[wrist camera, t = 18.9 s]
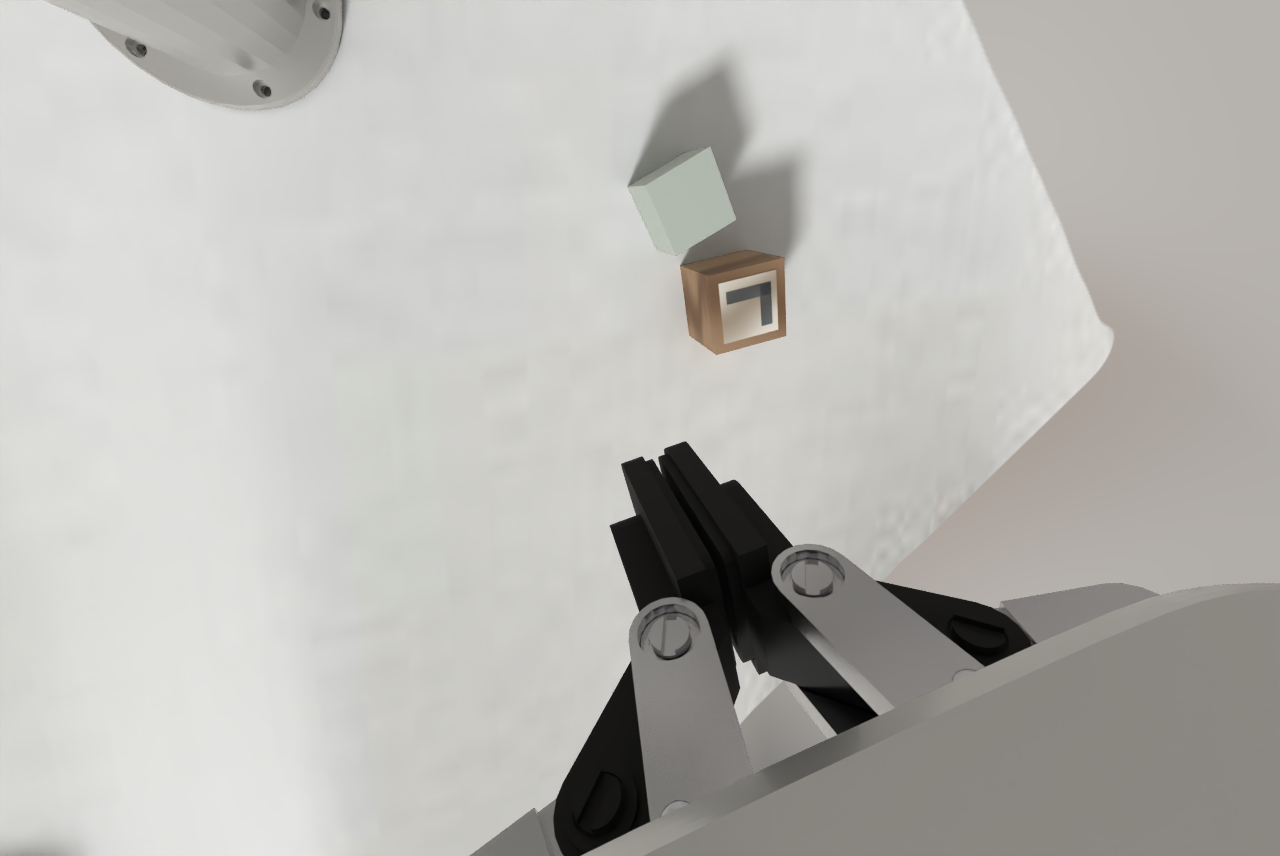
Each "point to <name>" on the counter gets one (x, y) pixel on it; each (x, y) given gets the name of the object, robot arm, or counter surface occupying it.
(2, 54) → the counter surface
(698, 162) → the sage block
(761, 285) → the walnut block
